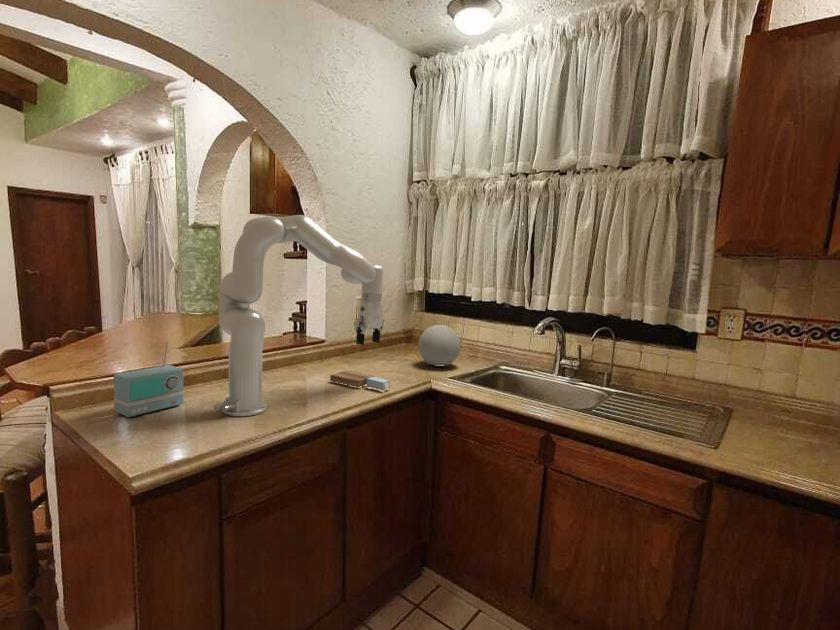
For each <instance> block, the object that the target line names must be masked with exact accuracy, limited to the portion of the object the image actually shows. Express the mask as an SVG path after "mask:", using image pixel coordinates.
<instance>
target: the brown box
mask: <svg viewBox="0 0 840 630" xmlns="http://www.w3.org/2000/svg"><path fill="white" fill-rule="evenodd" d="M371 377H376V376H375V375H371V374H366V373H361V372H358V371H352V370H348V369H347V370H344V371H340V372H336V373H332V374H330V377H329V378H330V380H329V382H330V381H333V382H338V383H343V384H347V385H351V386H356V387H360V386H363V385H365V384H367V378H371Z"/></svg>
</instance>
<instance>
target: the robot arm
mask: <svg viewBox="0 0 840 630" xmlns="http://www.w3.org/2000/svg"><path fill="white" fill-rule="evenodd" d="M242 230H243V231H242V234H241V235H240V237H239V238H238V239H237V242H236V244H235V247H234V252H233V260H232V261H233V262H232V269H231V270H232V271H231V272H229V273H227V274H225V275H224V276H223V278H222V280H221V282H220V284H219V294H218V324H219V326H220V329H221V330H222V331H223V332H224V333H226V334H228V335H230V342H229V347H228V396H226V397H225V400H223V402H218V403H216V404H213V410H214V411H215V412H217V411H220V410H222V412H223V413H224V414H225V415H227V416H230V417H231V416H232V417H250V416H256V415H260V414H262V413H264V412H265V411H267V409H268V404H267V402H265V401H263V346H264V339H265V332H266V323H265V320H264V317H263V316H262V315H261V313H259V312H258V310H257V311H256V310H255V309H252V308H250V306H251V304H254V303H257V302H258V301H259V300H260V299H261V297H262V295H263V289H264V282H263V281H264V265H265V264H264V263H265V259H266V255H267V252H269V250H270V248H271V247H272V246H274V245H276V244H283V243H289V242H296V243H298V244H299V245H301V247H303V248H304V249H306V250H307V251H308V252H309V253H311V254H312V255H313V256H314V257H316V258H317V259H318V260H320V261H322V262H324V263H327V264H330V265H333V266H336V267H338V268H341V270H340V275H341V278H342V279H343V281H345V282H346V283H348V284H355V285H361V296H360V297H361V299H360V303H359V307H358V314H357V315H358V316H357V319H356V320H355V321H354V322H353V326H354V330H355V334H356V341H355V342H356V344H357V345H360V346H361V345H362V346H363V345H364V344H365V336H366V335H365V331H366V330H372V329H373V331H372V339H371V341H372V343H373V342H374V343H377V344H379V343H380V342H381V332H382V331H383V330H382V329H383V327H384V324H385V320H384V319H383V317H384V314H383V313H384V312H383V302H382V296H383V295H382V294H383V283H384V282H383V281H384V268H383V267H382V266H381V265H375V264H372V263H370V262H369V261H368V259H366V258H365V257H364V256H362V255H361V254H360V253H359V252H357V251H355V250H353V248H350V247H348V246H346V245H345V244H343V243H341V242H339V241H337V239H335V238H333V236H331V235H330V234H329V233H327V232H326V231H325V230H324V229H323V228H321V226H319V224H317V223H316V221H314V220H312V219H311V218H310V217H308V216H306V215H304V214H296V215H288V216H280V217H279V216H278V217H273V216H264V217H263V216H262V217H258V218H252V219H250V220H248V221H246V223H245V224H244V226H243V229H242Z"/></svg>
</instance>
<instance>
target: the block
mask: <svg viewBox="0 0 840 630" xmlns="http://www.w3.org/2000/svg"><path fill="white" fill-rule="evenodd" d="M367 387H372V388H376V389H380V390H387V389H389V388H390V387H391V380H389V379H386V378H380V377H376V376H375V377H371V378H367V386H366V388H367ZM390 389H391V388H390Z"/></svg>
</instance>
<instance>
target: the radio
mask: <svg viewBox="0 0 840 630" xmlns="http://www.w3.org/2000/svg"><path fill="white" fill-rule="evenodd" d="M168 343H169V341H168V340H167V341H166V344H165V348H164V349H165V351H164V358H163V365H161V366H154V367H150V368H145V369H144V368H143V369H137V370H132V371H126V372H118V373H114V374H113V398H114V412H116V413H118V414H120V415H122V416H125V417H127V418H137V417H138V416H139V415H144V414H146V413H151V412H155V411H159V410H163V409H167V408H177V407H178V406H180V405H183V404H184V369H183V368H181V367H177V366H173V365H169V364H167V365H165V364H166V359H167V358H166V357H167V351H168V349H167V348H168Z"/></svg>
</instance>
